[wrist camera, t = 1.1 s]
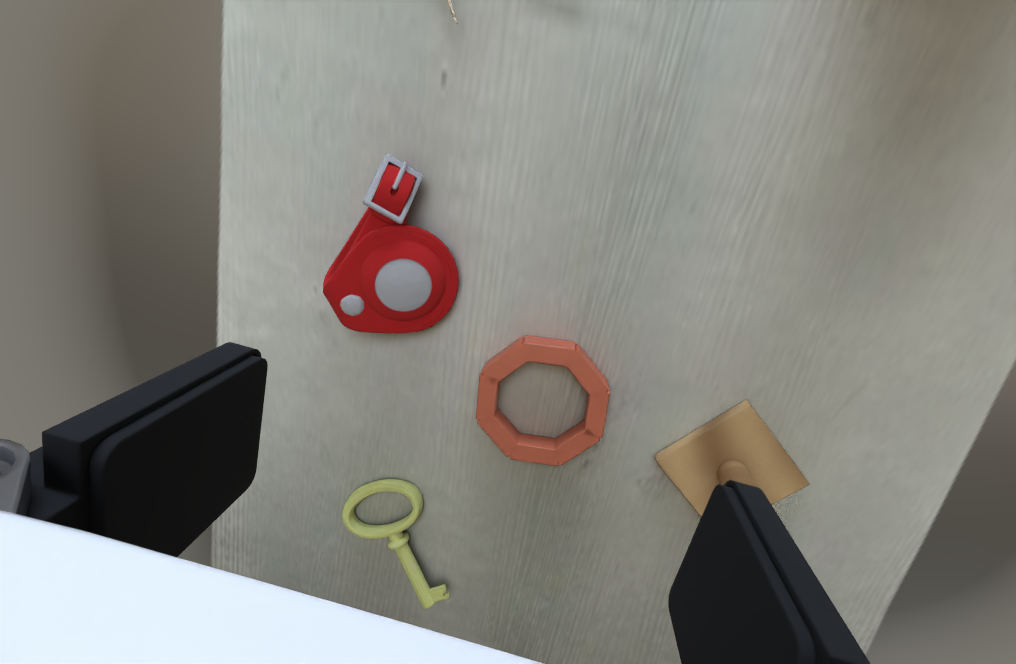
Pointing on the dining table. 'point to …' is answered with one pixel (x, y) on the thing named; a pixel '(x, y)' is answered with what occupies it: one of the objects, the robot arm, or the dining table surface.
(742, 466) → the peg stand
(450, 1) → the fairy figurine
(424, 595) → the key
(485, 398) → the ring
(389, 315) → the tracker holder
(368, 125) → the dining table surface
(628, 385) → the dining table surface
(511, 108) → the dining table surface
